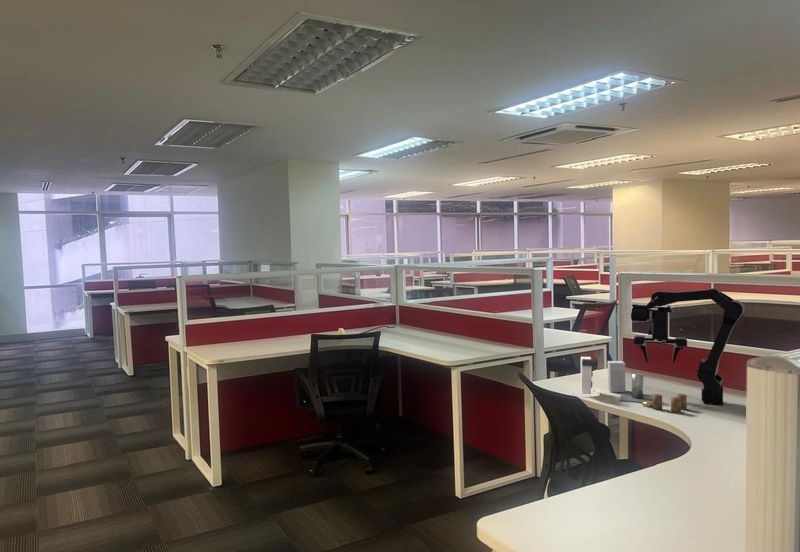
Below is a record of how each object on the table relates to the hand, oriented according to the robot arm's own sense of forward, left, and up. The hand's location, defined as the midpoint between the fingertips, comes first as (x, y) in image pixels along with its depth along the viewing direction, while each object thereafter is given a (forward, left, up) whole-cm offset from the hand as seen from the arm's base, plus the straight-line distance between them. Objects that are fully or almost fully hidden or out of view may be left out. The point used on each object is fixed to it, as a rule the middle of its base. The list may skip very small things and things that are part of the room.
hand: (659, 362), depth 224 cm
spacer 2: (-5, +21, -13) cm, 25 cm away
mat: (+8, +7, -13) cm, 17 cm away
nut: (+4, +16, -13) cm, 21 cm away
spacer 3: (-7, +16, -13) cm, 22 cm away
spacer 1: (+1, +19, -13) cm, 23 cm away
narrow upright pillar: (+27, +6, -13) cm, 31 cm away
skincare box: (+16, -2, -13) cm, 21 cm away
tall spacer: (+8, +7, -13) cm, 16 cm away
